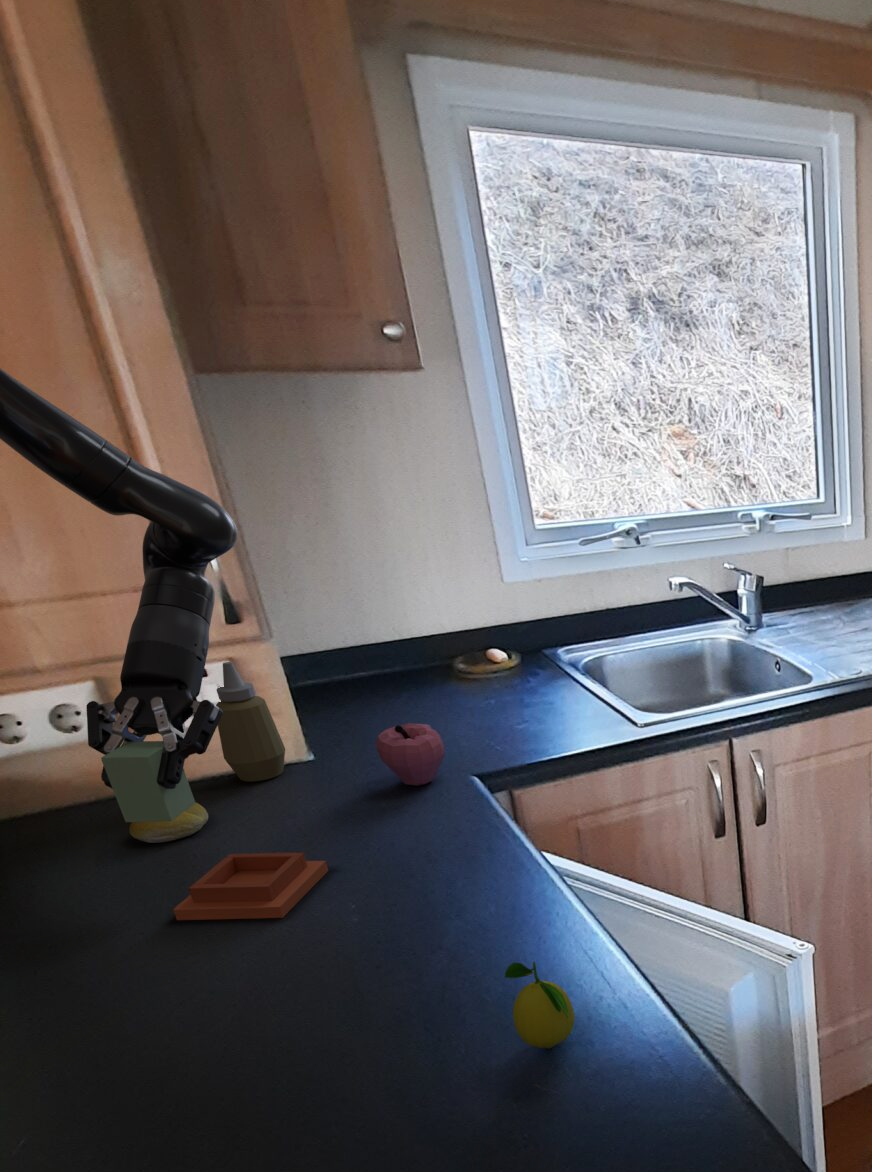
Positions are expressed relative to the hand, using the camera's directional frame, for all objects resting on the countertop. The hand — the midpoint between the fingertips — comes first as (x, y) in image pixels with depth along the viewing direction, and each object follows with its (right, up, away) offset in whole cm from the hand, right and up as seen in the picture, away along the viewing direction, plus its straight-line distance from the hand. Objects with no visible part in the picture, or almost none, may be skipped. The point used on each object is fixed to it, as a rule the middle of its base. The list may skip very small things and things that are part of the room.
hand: (139, 786), depth 119 cm
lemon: (+52, -27, -15) cm, 61 cm away
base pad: (+6, -13, +11) cm, 18 cm away
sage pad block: (0, -3, +3) cm, 5 cm away
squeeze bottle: (-16, +4, +44) cm, 47 cm away
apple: (+9, +3, +43) cm, 44 cm away
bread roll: (-16, -5, +27) cm, 32 cm away
